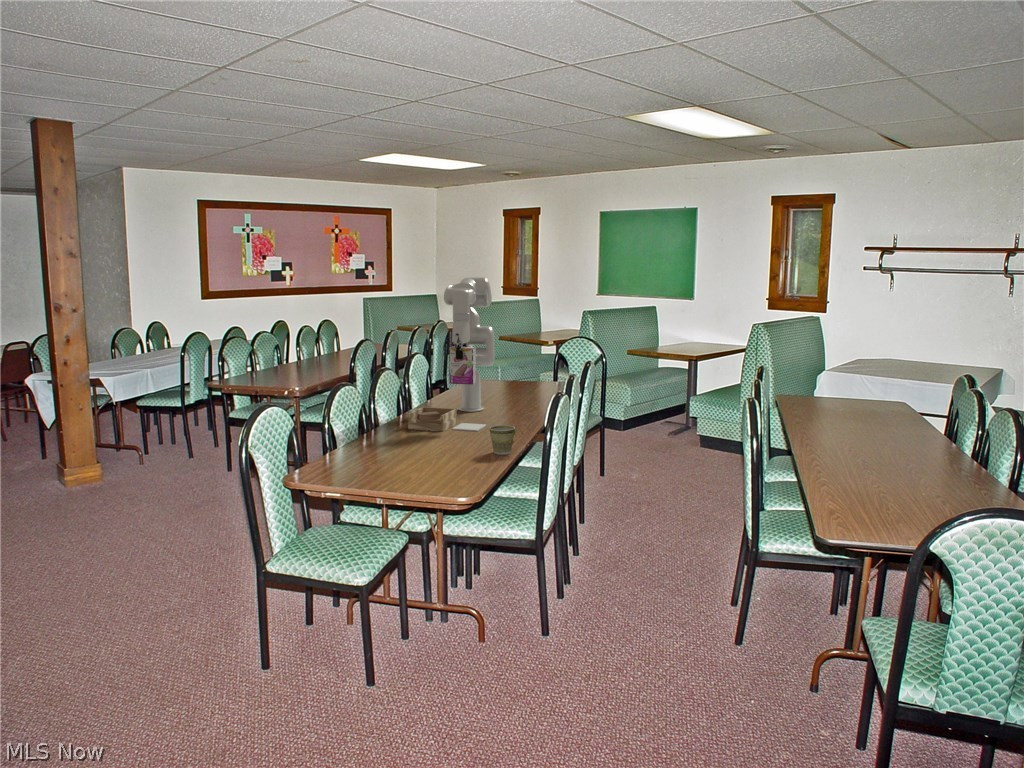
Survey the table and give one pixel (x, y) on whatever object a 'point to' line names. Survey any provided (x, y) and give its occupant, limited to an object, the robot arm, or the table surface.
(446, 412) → the rack
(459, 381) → the candy bar box
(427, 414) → the offcut top
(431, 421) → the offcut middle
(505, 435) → the ceramic cup
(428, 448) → the table surface
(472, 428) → the mat
